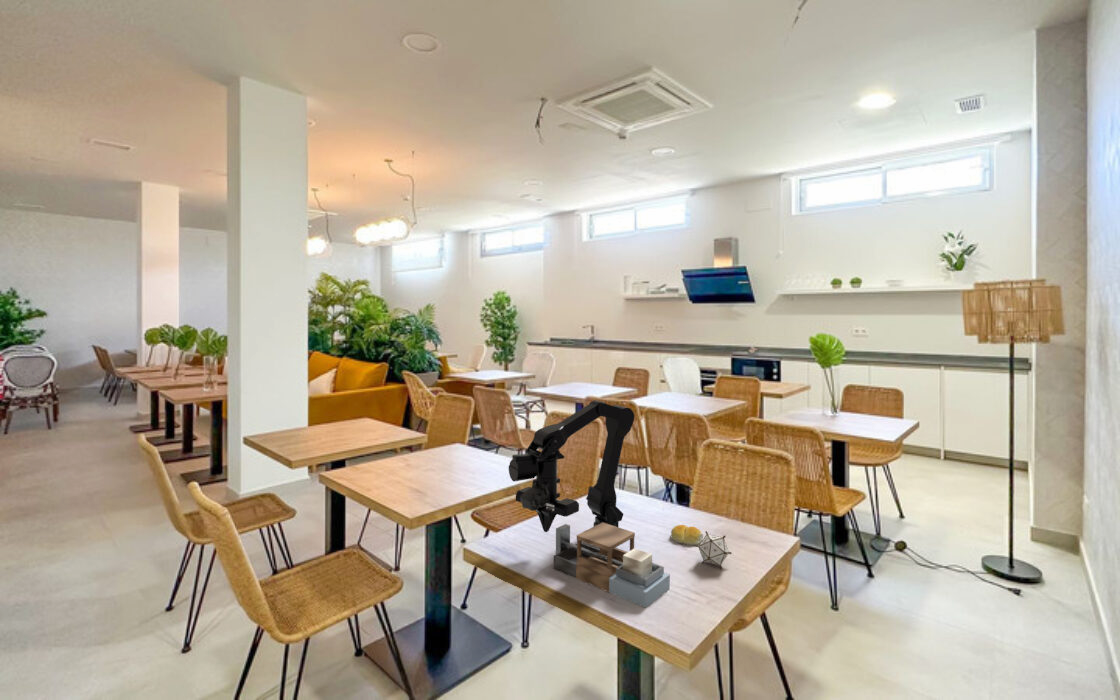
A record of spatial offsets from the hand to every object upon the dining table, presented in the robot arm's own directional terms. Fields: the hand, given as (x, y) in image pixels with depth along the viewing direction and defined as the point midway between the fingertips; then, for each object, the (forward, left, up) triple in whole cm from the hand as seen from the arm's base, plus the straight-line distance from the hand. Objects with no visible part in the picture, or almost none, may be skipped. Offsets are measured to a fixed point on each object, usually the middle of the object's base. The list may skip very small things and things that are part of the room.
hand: (546, 531), depth 142 cm
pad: (-15, +26, -6) cm, 31 cm away
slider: (-10, +17, -5) cm, 20 cm away
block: (-15, +25, -3) cm, 29 cm away
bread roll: (-42, +4, -7) cm, 43 cm away
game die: (-40, +20, -6) cm, 45 cm away
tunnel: (-8, +14, -6) cm, 17 cm away
